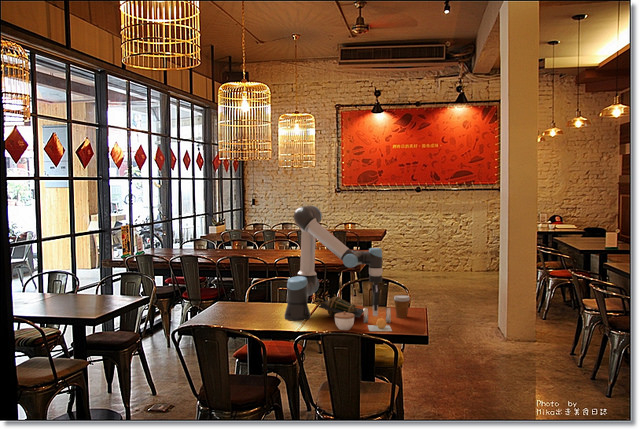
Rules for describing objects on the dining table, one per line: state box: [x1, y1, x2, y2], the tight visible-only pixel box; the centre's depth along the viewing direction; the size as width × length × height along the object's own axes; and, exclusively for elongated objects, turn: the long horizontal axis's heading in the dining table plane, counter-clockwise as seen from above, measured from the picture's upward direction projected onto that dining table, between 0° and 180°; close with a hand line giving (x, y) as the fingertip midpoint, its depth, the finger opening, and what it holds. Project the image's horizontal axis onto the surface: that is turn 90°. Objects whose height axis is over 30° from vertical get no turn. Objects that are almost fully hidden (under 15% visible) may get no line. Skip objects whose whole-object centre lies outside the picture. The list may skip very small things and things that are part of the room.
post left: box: [363, 307, 369, 324], centre depth 322 cm, size 3×3×8 cm
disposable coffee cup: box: [393, 294, 411, 319], centre depth 336 cm, size 10×10×12 cm
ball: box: [375, 317, 387, 329], centre depth 309 cm, size 6×6×6 cm
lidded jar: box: [334, 311, 355, 331], centre depth 308 cm, size 11×11×9 cm
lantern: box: [313, 294, 364, 318], centre depth 335 cm, size 14×23×30 cm
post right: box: [385, 307, 392, 324], centre depth 322 cm, size 3×3×8 cm
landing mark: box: [367, 324, 393, 332], centre depth 309 cm, size 12×12×1 cm
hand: (375, 315), depth 330 cm, fingers closed
